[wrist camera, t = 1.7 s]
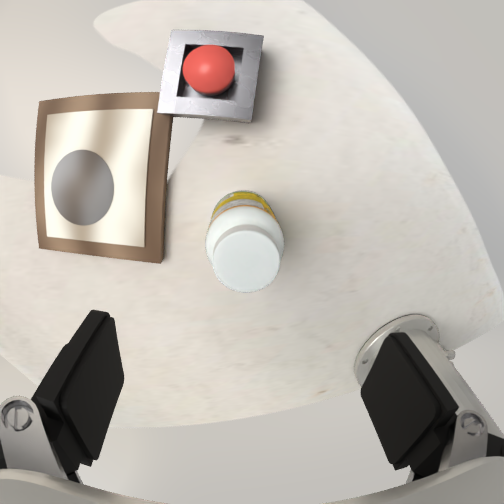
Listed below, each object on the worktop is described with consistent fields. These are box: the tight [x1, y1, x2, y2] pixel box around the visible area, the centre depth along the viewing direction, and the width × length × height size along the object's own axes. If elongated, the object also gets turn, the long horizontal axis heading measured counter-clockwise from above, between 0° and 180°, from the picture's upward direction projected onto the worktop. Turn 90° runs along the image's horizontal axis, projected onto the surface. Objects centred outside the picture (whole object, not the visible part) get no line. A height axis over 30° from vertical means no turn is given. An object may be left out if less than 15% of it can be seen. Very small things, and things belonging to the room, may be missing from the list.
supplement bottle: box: [205, 191, 284, 293], centre depth 22 cm, size 5×5×10 cm
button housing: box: [157, 30, 264, 123], centre depth 20 cm, size 7×7×4 cm
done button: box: [183, 45, 235, 96], centre depth 18 cm, size 4×4×2 cm
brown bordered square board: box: [35, 92, 173, 264], centre depth 23 cm, size 14×15×2 cm
